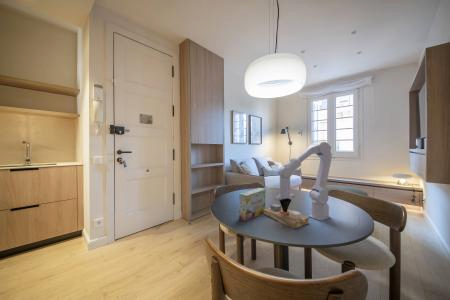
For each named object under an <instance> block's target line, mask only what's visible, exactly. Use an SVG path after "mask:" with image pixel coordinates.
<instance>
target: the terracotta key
mask: <svg viewBox="0 0 450 300" xmlns="http://www.w3.org/2000/svg"><path fill="white" fill-rule="evenodd" d="M289 212H290V211H287V212H284V211H283V210H281V211H279V213H280V214H283V215H285V216H286V215H289Z"/></svg>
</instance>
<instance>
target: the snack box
mask: <svg viewBox="0 0 450 300" xmlns="http://www.w3.org/2000/svg"><path fill="white" fill-rule="evenodd" d="M266 191H267V190H266V188H264V187H263V188H261V187H257V188H254V189H251V190H247V191H244V192H242V193H239V196H238V197H239V198H238V208H239V209H238V219H239V220H240V221H243V222H249V221H250V220H252V219H254V218H256V217H258V216H260V215H262V214H264V209H266Z"/></svg>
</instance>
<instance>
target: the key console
mask: <svg viewBox="0 0 450 300" xmlns="http://www.w3.org/2000/svg"><path fill="white" fill-rule="evenodd" d="M281 210H282V206H281ZM290 210H291V209H288V210H287V211H290ZM292 211H293V210H292ZM292 211H290V212H292ZM263 214H264V215H265V216H267V217H269V218H272V219H273V220H275V221H277V222H280V223H282V224H283V225H286V226H288V227H290V228H292V229H297V228H300V227H302V226H304V225H305V226H306V225H307V224H309V223H310V217H309V216H305V215H303V214H301V219H298V220H294V219H292V218H290V217H289V215H286V216H285V215H283V214H280V213H279V211H277V212H275V211H273V210H271V207H268V208H265V209H264V213H263Z"/></svg>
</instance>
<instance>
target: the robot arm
mask: <svg viewBox="0 0 450 300" xmlns="http://www.w3.org/2000/svg"><path fill="white" fill-rule="evenodd" d="M331 150H332V146H331V145H330V144H329V142H327V141H322V142H320V141H319V142H317V141H315V142H313V143H311V144H310V145H308V146H307V148H306V149H305V150H304V151H302V152H301V153H300V154H299V156H298V157H296V158H295V157H294V158H290V159H289V161H288V162H287V163H286V164H284V165H283V166H282V167H280V168H279V169H278V171H277V172H278V176H279V194H278V195H276V196H274V202H279V203H280V206H281V207H282V210H283V211H284V212H287V210H289V206H290V204H291V202H292V199H291V198H293V199H294V198H295V197H296V196H295V195H296V194H295V193H291V177H292V175H293V173H294V172H295V171H296V170H297V169H299V168H300V167H301V166H302V162H304V161H305V160H306V159H307V158H309V157H311V156H312V155H317V156H318V158H319V159H320V161H319V166H318V171H317V175H316V180H315V184H314V185H313V186H312V187H311V190H310V191H309V198H310V199H311V214H308V216H307V217H308V218H312V219H315V220H318V221H321V222H322V221H325V220H327V219H330V218H331V216H330V214H329V213H330V206H329V203H328V202H329V190H328V188H327V182H328V178H329V177H328V176H329V173H330V168H331V164H332V158H333V157H332V155H333V154H332V152H331Z"/></svg>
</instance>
